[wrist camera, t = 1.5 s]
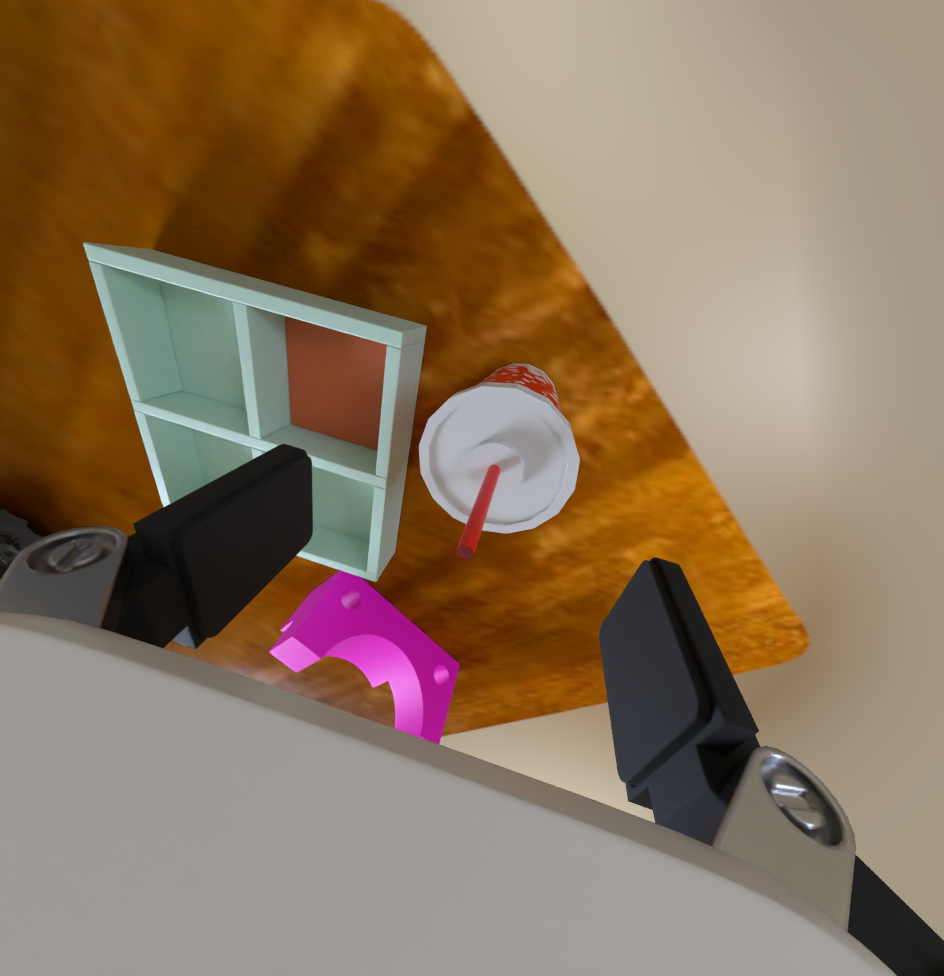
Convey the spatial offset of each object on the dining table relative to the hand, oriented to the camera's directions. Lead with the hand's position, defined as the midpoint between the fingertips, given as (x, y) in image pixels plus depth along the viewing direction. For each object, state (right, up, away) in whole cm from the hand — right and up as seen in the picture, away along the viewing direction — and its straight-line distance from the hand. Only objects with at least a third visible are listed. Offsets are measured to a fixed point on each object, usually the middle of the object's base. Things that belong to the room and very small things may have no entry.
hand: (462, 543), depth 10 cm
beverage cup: (+3, +7, +11) cm, 14 cm away
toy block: (-8, -12, +25) cm, 29 cm away
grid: (-13, +6, +15) cm, 21 cm away
